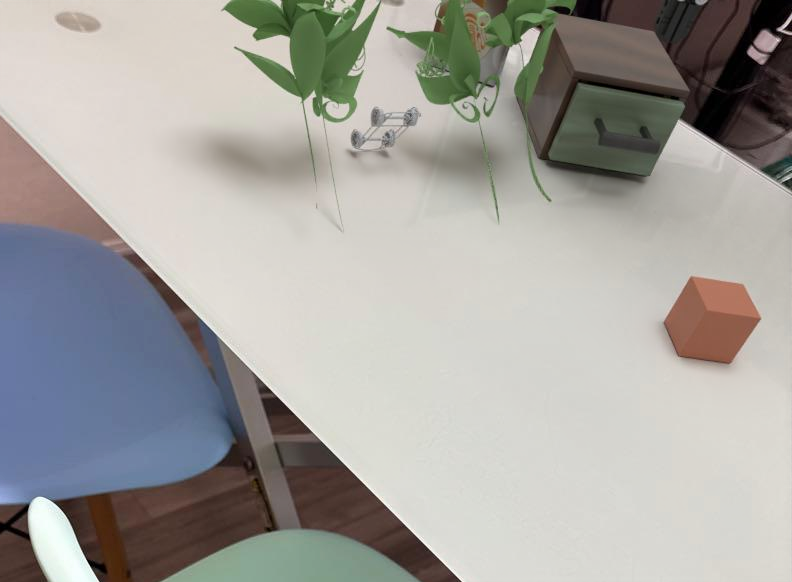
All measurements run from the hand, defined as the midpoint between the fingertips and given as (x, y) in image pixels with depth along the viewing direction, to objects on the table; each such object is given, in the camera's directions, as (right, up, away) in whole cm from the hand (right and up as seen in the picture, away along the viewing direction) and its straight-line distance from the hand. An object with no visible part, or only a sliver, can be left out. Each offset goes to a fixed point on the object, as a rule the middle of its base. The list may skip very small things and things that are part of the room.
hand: (666, 39), depth 94 cm
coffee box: (-14, +9, +25) cm, 30 cm away
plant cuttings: (-26, -12, +4) cm, 29 cm away
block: (0, -30, -6) cm, 31 cm away
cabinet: (-2, -2, +18) cm, 18 cm away
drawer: (-2, -5, +14) cm, 15 cm away
